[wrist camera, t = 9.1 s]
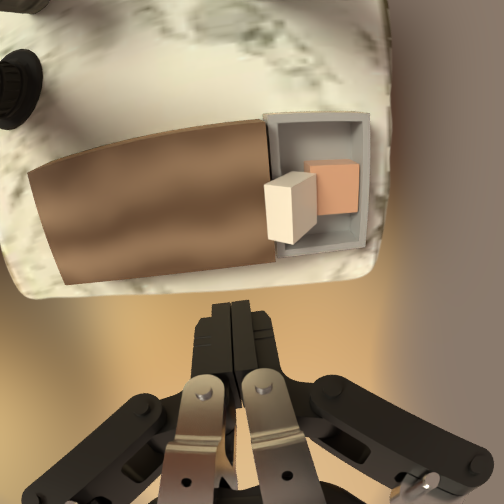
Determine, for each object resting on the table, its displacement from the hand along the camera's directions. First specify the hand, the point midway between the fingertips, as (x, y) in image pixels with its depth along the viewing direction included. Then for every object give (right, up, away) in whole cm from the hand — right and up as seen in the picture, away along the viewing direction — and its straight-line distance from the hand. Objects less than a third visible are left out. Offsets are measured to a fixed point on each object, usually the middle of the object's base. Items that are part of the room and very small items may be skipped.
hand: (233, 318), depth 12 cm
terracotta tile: (+9, +9, +15) cm, 20 cm away
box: (+7, +10, +18) cm, 22 cm away
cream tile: (+3, +7, +15) cm, 17 cm away
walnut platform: (-9, +8, +17) cm, 21 cm away
